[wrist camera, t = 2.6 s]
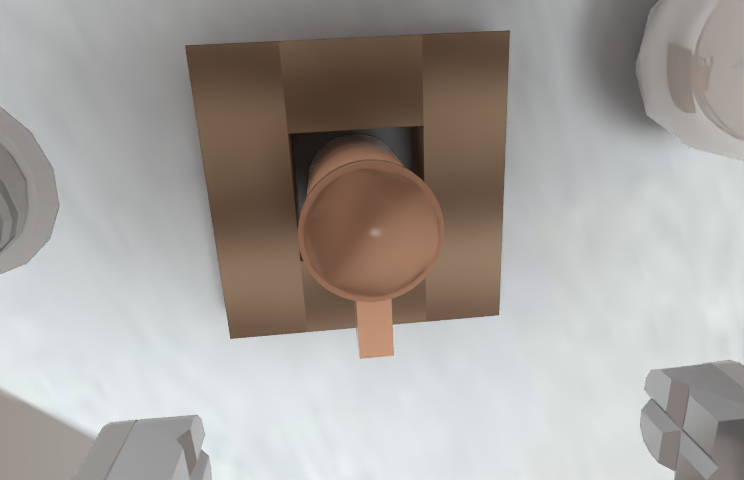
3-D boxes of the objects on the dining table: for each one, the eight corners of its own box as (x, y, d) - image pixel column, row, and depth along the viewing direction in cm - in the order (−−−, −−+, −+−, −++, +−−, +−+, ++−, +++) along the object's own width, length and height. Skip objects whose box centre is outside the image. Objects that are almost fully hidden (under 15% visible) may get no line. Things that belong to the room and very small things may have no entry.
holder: (200, 47, 25) (185, 45, 22) (489, 33, 26) (509, 30, 23) (238, 312, 29) (230, 338, 27) (482, 291, 30) (499, 315, 28)
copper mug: (299, 133, 26) (290, 167, 18) (404, 127, 27) (444, 157, 18) (313, 281, 29) (310, 371, 21) (408, 273, 30) (444, 358, 21)
